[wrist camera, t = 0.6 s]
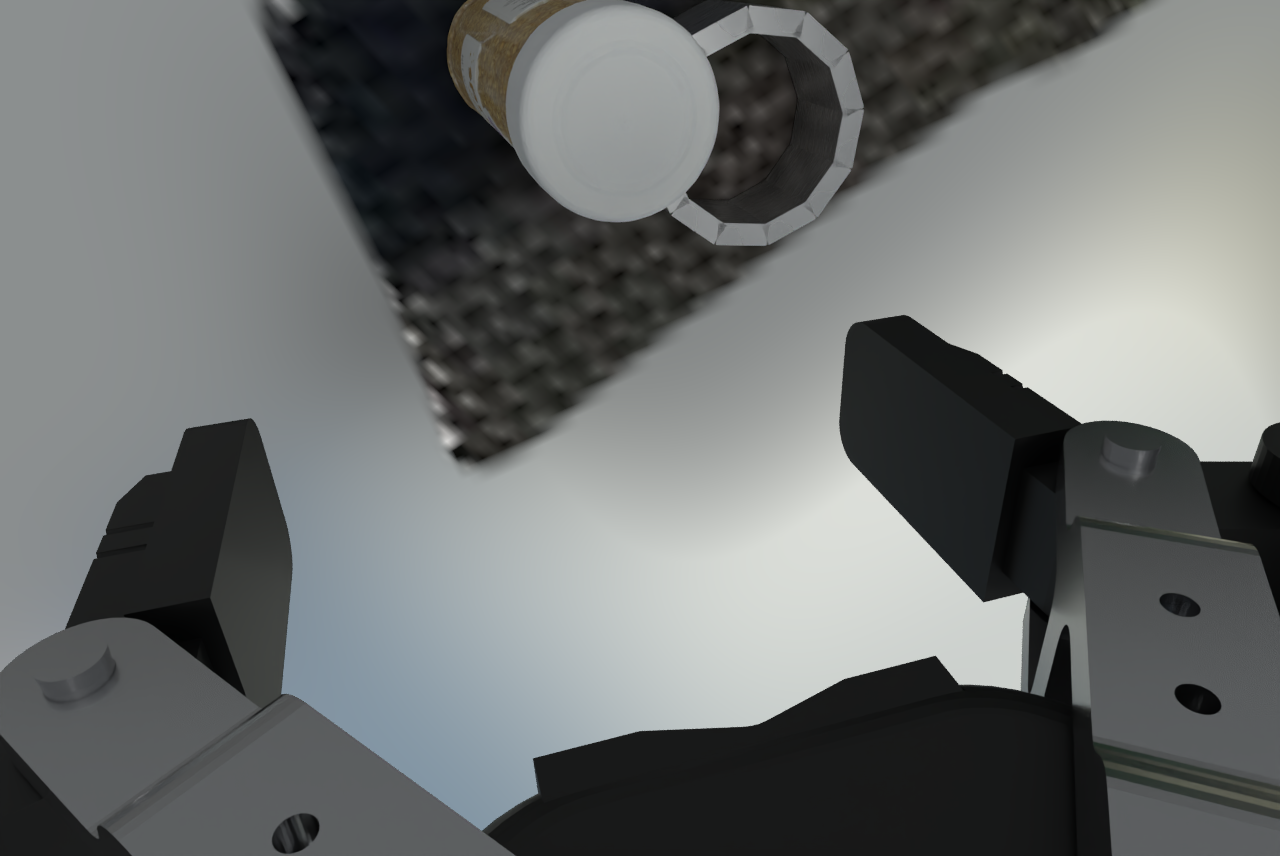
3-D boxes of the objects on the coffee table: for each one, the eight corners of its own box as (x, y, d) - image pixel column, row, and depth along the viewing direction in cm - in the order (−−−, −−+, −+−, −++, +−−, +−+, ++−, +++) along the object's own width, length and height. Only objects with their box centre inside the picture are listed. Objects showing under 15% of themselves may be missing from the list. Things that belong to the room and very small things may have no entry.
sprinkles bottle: (425, 90, 30) (486, 180, 19) (475, -48, 29) (575, -41, 17) (548, 145, 32) (670, 256, 21) (600, 19, 31) (761, 65, 19)
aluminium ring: (778, -39, 31) (825, -37, 29) (837, 161, 36) (883, 181, 33) (585, 65, 31) (612, 78, 28) (668, 254, 35) (699, 283, 32)
